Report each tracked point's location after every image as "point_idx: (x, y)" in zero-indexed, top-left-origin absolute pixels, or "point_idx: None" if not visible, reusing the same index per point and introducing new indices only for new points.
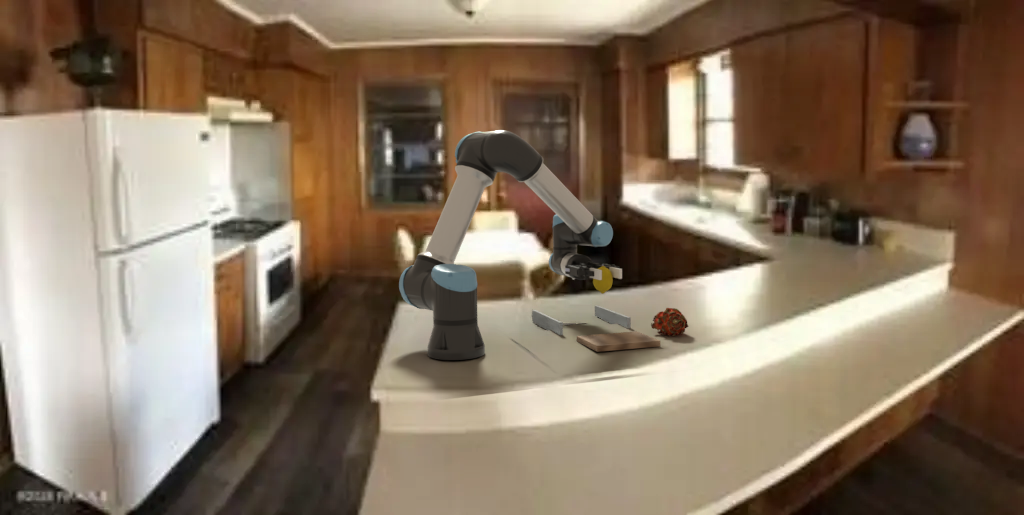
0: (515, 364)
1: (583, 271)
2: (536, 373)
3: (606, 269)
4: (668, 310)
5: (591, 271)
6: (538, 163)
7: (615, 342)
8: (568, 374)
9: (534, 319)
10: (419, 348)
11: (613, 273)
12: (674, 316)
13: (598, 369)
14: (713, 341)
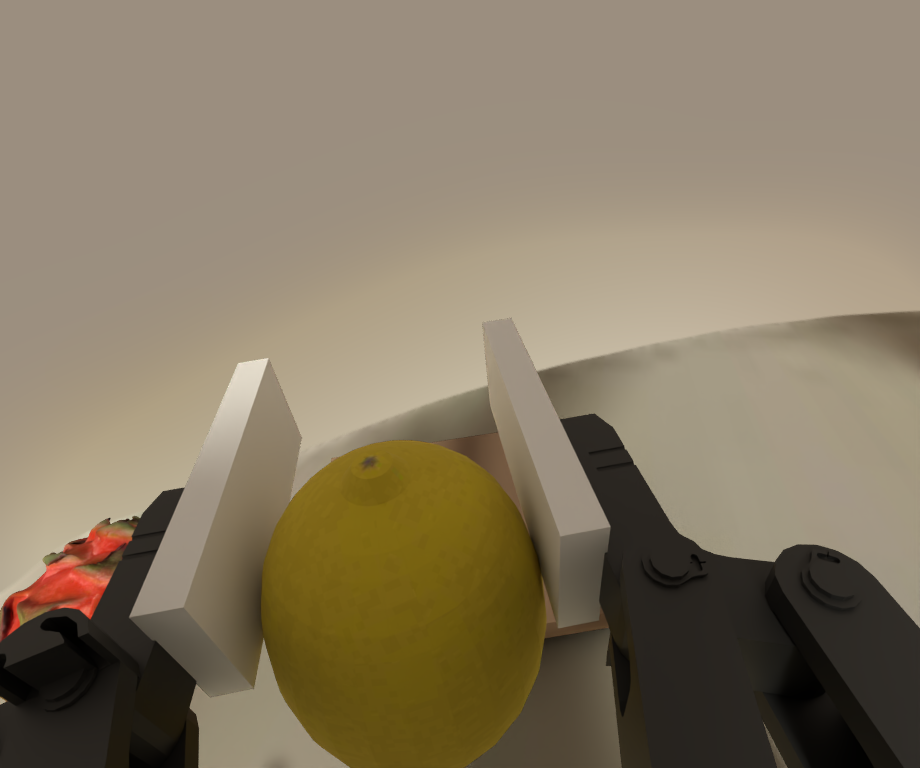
0: (864, 429)
1: (724, 568)
2: (756, 368)
3: (359, 448)
4: (90, 569)
5: (588, 415)
6: None
7: (500, 453)
8: (664, 358)
9: None
10: None
11: (262, 522)
12: (134, 524)
13: (584, 376)
14: None
